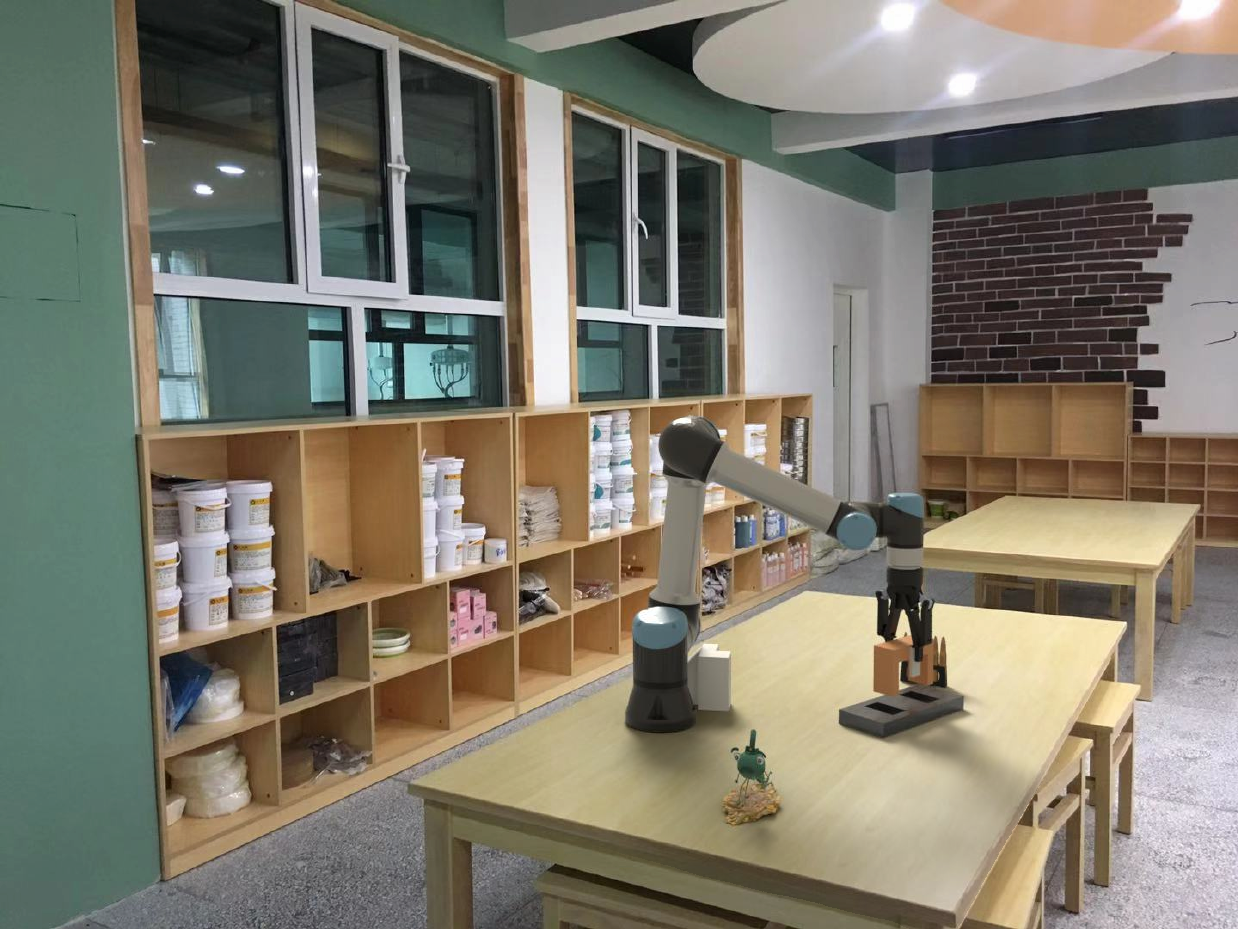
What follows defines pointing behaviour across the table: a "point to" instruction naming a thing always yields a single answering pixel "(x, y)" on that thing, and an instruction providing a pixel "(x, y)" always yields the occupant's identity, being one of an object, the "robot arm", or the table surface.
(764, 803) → the green creature figurine
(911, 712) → the gray slotted base board
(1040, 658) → the table surface
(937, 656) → the ammunition clip
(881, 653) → the clip
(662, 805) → the table surface
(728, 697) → the corner bracket
